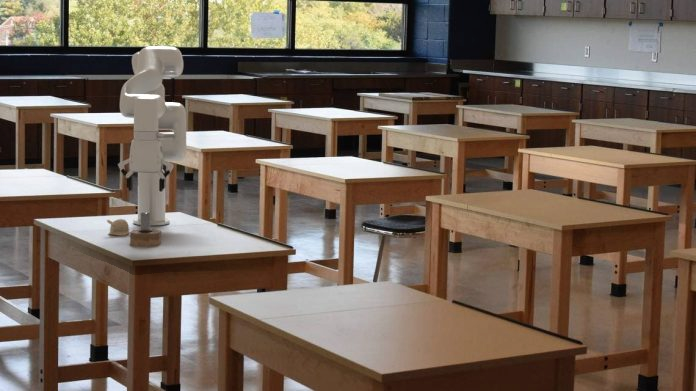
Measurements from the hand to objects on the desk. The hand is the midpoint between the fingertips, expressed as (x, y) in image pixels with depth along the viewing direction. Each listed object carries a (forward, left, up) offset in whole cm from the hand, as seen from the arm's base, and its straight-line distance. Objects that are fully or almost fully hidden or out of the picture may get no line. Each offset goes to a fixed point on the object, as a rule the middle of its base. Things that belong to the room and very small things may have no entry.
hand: (145, 190), depth 367 cm
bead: (0, 0, -17) cm, 17 cm away
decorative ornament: (-16, -12, -17) cm, 26 cm away
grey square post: (0, 0, -17) cm, 17 cm away
